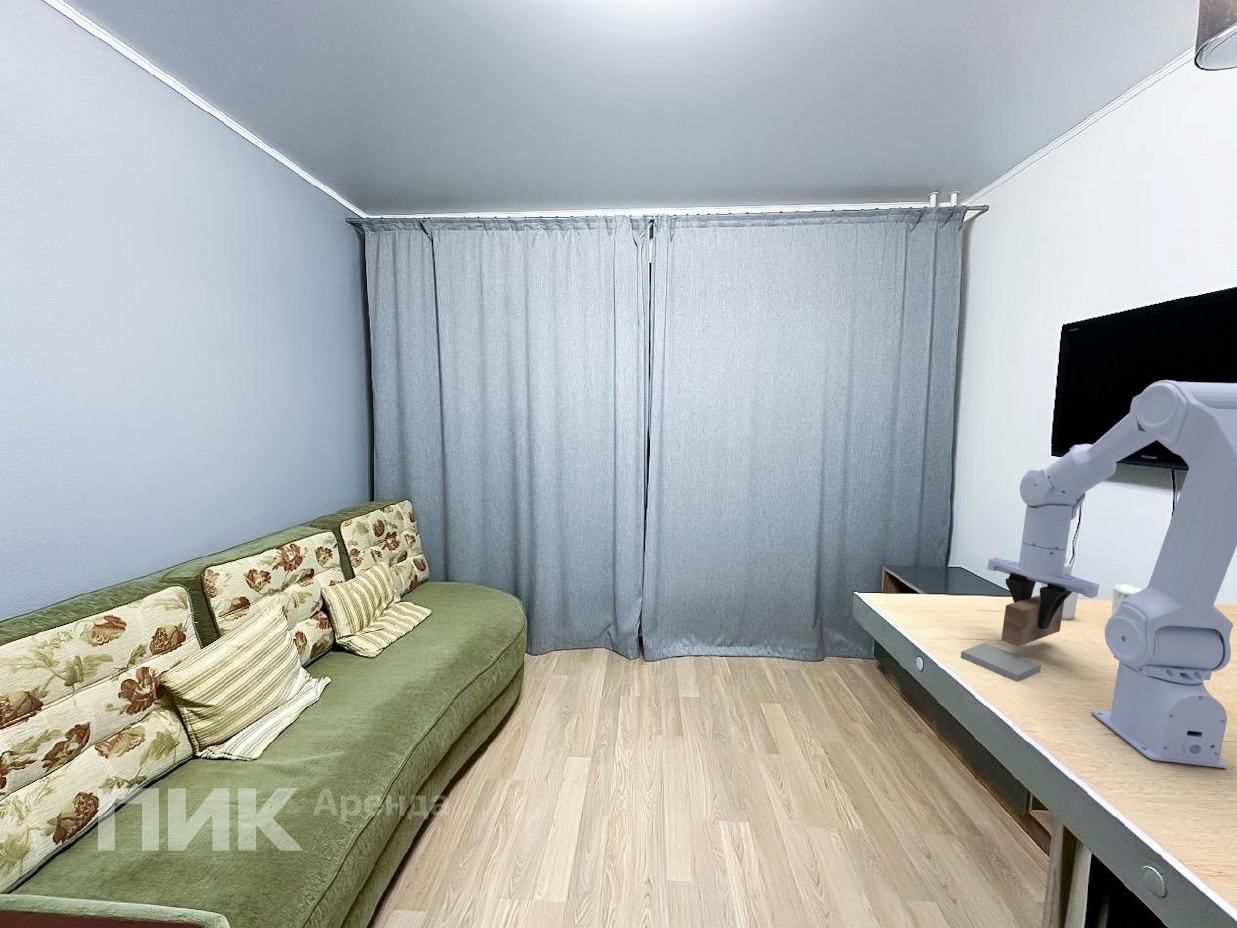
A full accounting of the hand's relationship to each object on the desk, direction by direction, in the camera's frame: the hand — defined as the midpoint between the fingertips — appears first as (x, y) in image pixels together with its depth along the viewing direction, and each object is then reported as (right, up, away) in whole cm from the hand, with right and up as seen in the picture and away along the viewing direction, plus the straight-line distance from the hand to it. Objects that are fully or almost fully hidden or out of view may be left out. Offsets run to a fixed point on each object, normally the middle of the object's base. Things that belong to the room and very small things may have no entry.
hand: (1032, 624), depth 87 cm
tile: (-5, -5, -2) cm, 7 cm away
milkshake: (+24, -5, +9) cm, 27 cm away
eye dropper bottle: (+17, -4, +16) cm, 24 cm away
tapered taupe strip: (0, -2, 0) cm, 2 cm away
